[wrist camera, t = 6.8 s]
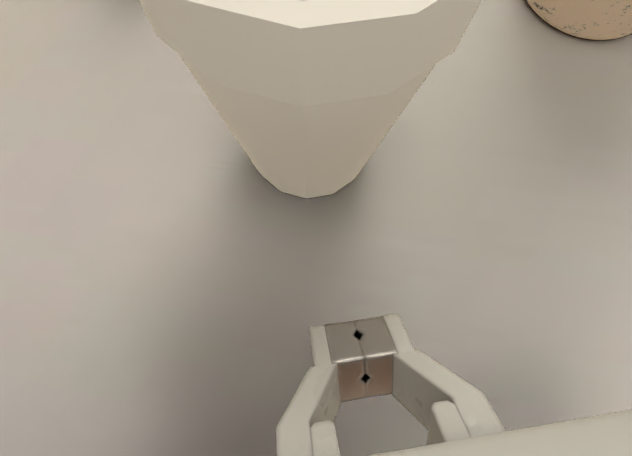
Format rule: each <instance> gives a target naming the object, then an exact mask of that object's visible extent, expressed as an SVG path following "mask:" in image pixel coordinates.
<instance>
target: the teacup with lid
mask: <svg viewBox="0 0 632 456" xmlns="http://www.w3.org/2000/svg"><path fill="white" fill-rule="evenodd" d="M527 2H528V3H529V5H530V6H531V7H532V9H533V10H534V11H535V12H536V13H537V14H538V15H539V16H540V17H541V18H542V19H543V20H545V21H546V22H547V23H549V24H550V25H552V26H553V27H555V28H557V29H559V30H560V31H563V32H565V33H567V34H570V35H573V36H576V37H580V38H585V39H592V40H608V39H615V38H620V37H623V36H626V35H629V34H631V33H632V0H527Z"/></svg>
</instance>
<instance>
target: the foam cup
mask: <svg viewBox="0 0 632 456" xmlns="http://www.w3.org/2000/svg"><path fill="white" fill-rule="evenodd" d="M139 2H140V4H141V6H142V8H143V10H144V12H145V14H146V16H147V18H148V20H149V22H150V24H151V25H152V27H153V29H154V31H155V33H156V35H157V36H158V37H159V38H160V39H162V40H163V41H164V42H165V43H167V44H168V45H169V46H170V47H171V48H173V49H174V50H175V51H176V52H178V54H179V55H180V57H181V58H182V60H183V61H184V63H185V64H186V65H187V67H188V68H189V70H190V71H191V73H192V74H193V76H194V77H195V79H196V80H197V82H198V83H199V85H200V86H201V88H202V89H203V91H204V92H205V93H206V95H207V96H208V98H209V99H210V101H211V102H212V104H213V105H214V107H215V108H216V110H217V111H218V113H219V114H220V116H221V117H222V119H223V120H224V121H225V123H226V124H227V126H228V127H229V129H230V130H231V132H232V133H233V135H234V136H235V138H236V139H237V141H238V142H239V144H240V145H241V147H242V148H243V149H244V151H245V152H246V154H247V155H248V157H249V158H250V160H251V161H252V163H253V164H254V166H255V167H256V169H257V170H258V171H259V172H260V173H261V175H262V176H263V177H264V178H265V179H266V180H268V181H269V182H270V183H271V184H272V185H274V186H275V187H276V188H277V189H278V190H279V191H281V192H284V193H288V194H292V195H296V196H299V197H303V198H312V197H318V196H324V195H331V194H334V193H335V192H337V191H338V190H340V189H341V188H343V187H344V186H345V185H347V184H348V183H350V182H351V181H353V180H354V179H355V177H356V176H357V175H358V174H359V172H360V171H361V169H362V168H363V167H364V165H365V164H366V162H367V161H368V160H369V158H370V157H371V155H372V154H373V152H374V151H375V150H376V148H377V147H378V145H379V144H380V143H381V141H382V140H383V138H384V137H385V136H386V134H387V133H388V131H389V130H390V128H391V127H392V126H393V124H394V123H395V121H396V120H397V119H398V117H399V116H400V114H401V113H402V111H403V110H404V109H405V107H406V106H407V104H408V103H409V102H410V100H411V99H412V97H413V96H414V94H415V93H416V92H417V90H418V89H419V87H420V86H421V85H422V83H423V82H424V80H425V79H426V77H427V76H428V75H429V73H430V72H431V70H432V69H433V68H434V66H435V65H436V63H438V62H439V61H441V60H442V59H444V58H445V57H447V56H448V55H450V54H452V53H453V52H454V51H455V49H456V47H457V45H458V44H459V42H460V40H461V38H462V36H463V34H464V32H465V30H466V28H467V26H468V25H469V23H470V21H471V19H472V17H473V15H474V13H475V11H476V9H477V8H478V6H479V4H480V2H481V0H139Z"/></svg>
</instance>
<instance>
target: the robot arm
mask: <svg viewBox="0 0 632 456" xmlns="http://www.w3.org/2000/svg"><path fill="white" fill-rule="evenodd" d="M309 334H310V342H311V349H312V356H313V364H314V367H310V368H309V370H308V371H307V373H306V375H305V377H304V379H303V380H302V382H301V384H300V386H299V387H298V389H297V391H296V393H295V395H294V396H293V398H292V400H291V402H290V404H289V405H288V407H287V409H286V411H285V412H284V414H283V416H282V418H281V420H280V421H279V423H278V425H277V427H276V454H277V456H340V451H339V446H338V440H337V435H336V429H335V424H334V421H335V418H336V415H337V413H338V410H339V407H340V402H346V401H351V400H356V399H361V398H366V397H374V396H381V395H388V394H392V395H393V396H394V397H395V398H396V399H397V400H398V401H399V402H400V403H401V404H402V405H403V406H404V407H405V408H406V409H407V410H408V411H409V412H410V413H411V414H412V415H413V416H414V417H415V418H416V419H417V420H418V421H419V422H420V423H421V424H422V425H423V426H424V427H425V428H426V429H427V430H428V440H427V445H425V446H420V447H414V448H408V449H403V450H397V451H391V452H385V453H380V454H374V455H368V456H632V409H631V410H625V411H619V412H614V413H608V414H602V415H596V416H591V417H585V418H579V419H574V420H568V421H562V422H556V423H551V424H545V425H539V426H533V427H528V428H522V429H516V430H511V431H506V430H505V429H504V427H503V425H502V424H501V422H500V420H499V418H498V417H497V415H496V413H495V412H494V410H493V408H492V407H491V405H490V403H489V401H488V400H487V398H486V396H485V395H484V393H483V392H481V391H480V390H478V389H477V388H475V387H474V386H472V385H471V384H469V383H468V382H466V381H465V380H463V379H462V378H460V377H459V376H457V375H456V374H454V373H453V372H451V371H450V370H448V369H447V368H445V367H444V366H443V365H441V364H440V363H438V362H437V361H435V360H434V359H432V358H431V357H429V356H428V355H426V354H425V353H423V352H422V351H420V350H416V351H415V349H414V347H413V345H412V343H411V340H410V338H409V336H408V334H407V332H406V330H405V327H404V325H403V323H402V321H401V319H400V316H399V315H398V314H391V315H385V316H379V317H373V318H367V319H361V320H355V321H349V322H341V323H334V324H326V325H321V326H312V327H309Z"/></svg>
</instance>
